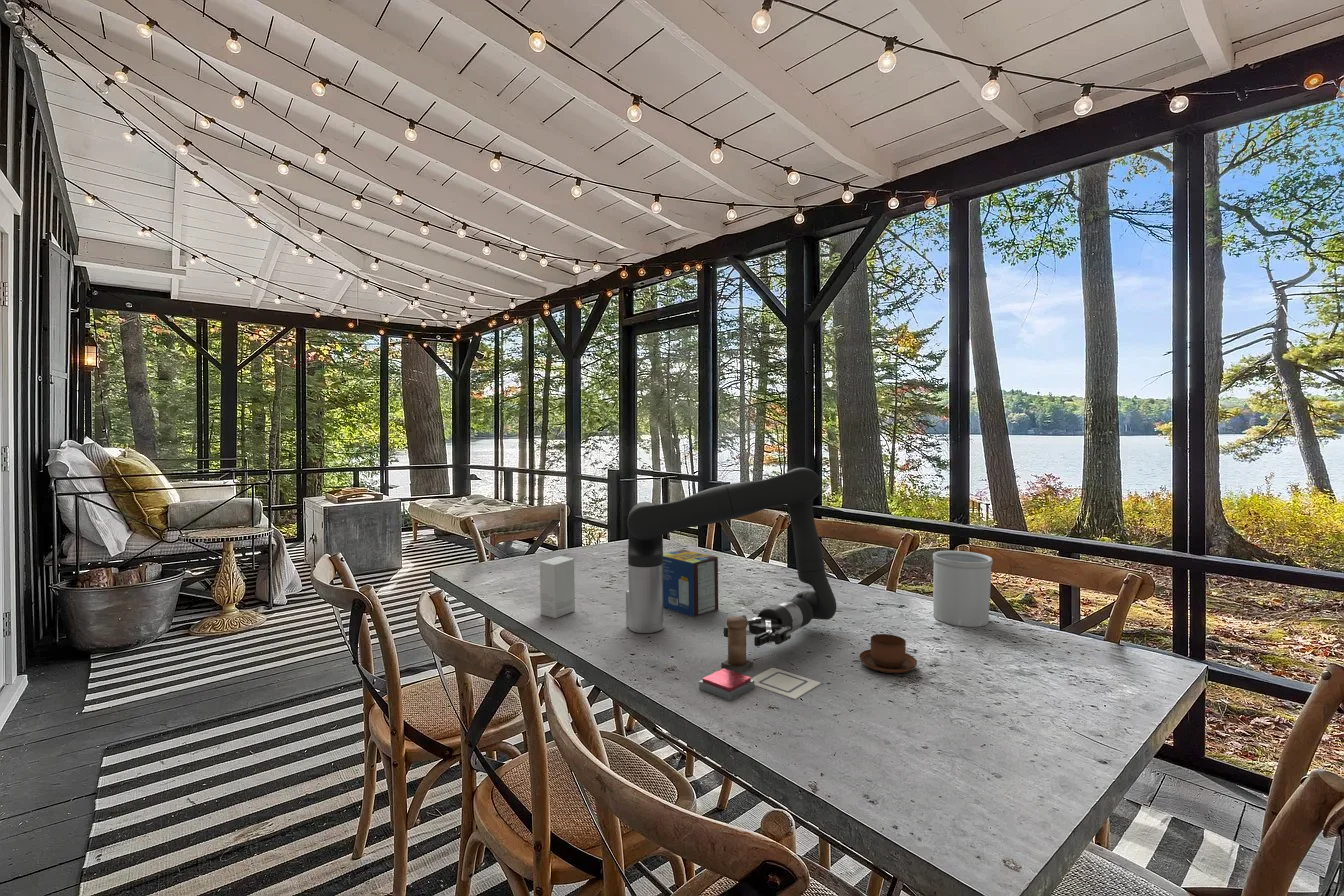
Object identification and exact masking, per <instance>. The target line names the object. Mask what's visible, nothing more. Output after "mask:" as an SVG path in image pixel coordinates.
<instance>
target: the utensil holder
mask: <svg viewBox="0 0 1344 896" xmlns="http://www.w3.org/2000/svg"><path fill="white" fill-rule="evenodd" d="M932 560H933V581H932V582H933V586H932V587H933V589H932V591H933V592H932V593H933V594H932V595H933V596H932V603H933V604H932V605H933V606H932V609H933V610H932V611H933V617H934V618H935V619H936V620H937V621H939V622H941V623H944V624H948V625H952V626H958V627H967V628H978V627H979V628H980V627H983V626H986V625H988V624H989V620H990V619H989V617H990V606H991V605H990V603H991V580H992V565H993V564H994V563H993V558H992V557H991V556H989V555H986V554H984V553H979V552H978V553H977V552H972V551H963V550H940V551H939V550H938V551H936V552H933V553H932Z"/></svg>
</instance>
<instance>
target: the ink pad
mask: <svg viewBox="0 0 1344 896" xmlns="http://www.w3.org/2000/svg"><path fill="white" fill-rule="evenodd" d="M751 678H752V677H750V676H748V675H745V674H744V673H741V674H740V673H737V672H734V671H731V670H728V669H725V668H721V669H720V670H717V671H715V672H713V673H711V674H709V675H706V676H705V677H703V678H702V679H701V680H699V681H698V689H699V690H701V691H703V692H706V693H709V694H711V695H714V696H717V697H719V698H721V697H722V699H724V700H727V701H729V702H731V701H732V700H735V699H736V698H738V697H740V696H742V695H743V694H746V693H748V692H749V691H752V690H753V689H755V685H754V680H752V679H751Z"/></svg>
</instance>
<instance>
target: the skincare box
mask: <svg viewBox="0 0 1344 896" xmlns="http://www.w3.org/2000/svg"><path fill="white" fill-rule="evenodd" d="M575 584H576V583H575V558H572V557H567V556H561V555H560V556H556V557H552V558H549V559H545V560H544V559H543V560H542V561H539V587H540V588H539V591H540V592H539V593H540V594H539V597H540V603H539V604H540V615H541V616H545V617H548V618H549V617H550V618H553V619H557V618H560V617H562V616H566V615H567V614H570V613H574V612H575V611H576V596H575V595H576V592H575V591H576V589H575V588H576V587H575Z"/></svg>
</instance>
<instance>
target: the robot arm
mask: <svg viewBox="0 0 1344 896" xmlns="http://www.w3.org/2000/svg"><path fill="white" fill-rule="evenodd" d="M821 489H822V479H821V477H820V476H819V475H818V473H816V472H815V471H814V470H813V469H810V468H807V467H796V468H792V469H790V470H789V471H788V472H786V473H782V474H779V475H776V476H773V477H769V478H767V479H766V478H765V479H759V480H747V481H739V482H734V483H733V482H732V483H728V484H723V485H719V486H714V487H710V488H707V489H704V490H701V491H698V492H696V493H694V494H691V495H689V496H687V497H685V498H681V499H680V500H675V501H671V502H666V503H665V502H664V503H658V504H655V503H652V502H649V501H642V502H638V503H637V504H635V505H633V507H632V508H631V509H630V511H629V513H628V516H627V521H626V525H627V533H628V534H627V535H628V536H627V538H628V540H627V541H628V542H627V544H628V545H627V547H628V548H627V549H628V550H627V551H628V552H627V563H628V565H627V572H628V573H627V574H628V576H627V577H628V578H627V579H628V581H627V582H628V584H627V585H628V590H626V592H625V615H626V617H625V618H626V620H625V624H626V625H625V627H626V628H628V630H630V631H631V632H634V633H638V634H639V633H640V634H651V633H652V634H653V633H657V632H660V631H661V630H663V629H664V607H663V553H664V538H663V536H664V535H667V534H670V533H672V532H675V531H679V530H682V529H687V528H693V527H699V526H700V527H701V526H706V525H711V524H717V523H722V522H725V521H731V520H735V519H739V518H741V517H745V516H748V515H752V514H755V513H758V512H760V511H763V510H765V509H769V508H774V507H777V506H779V507H780V506H785V505H786V506H787V509H788V514H789V518H790V523H791V529H792V535H793V536H792V537H793V545H794V554H795V561H796V563H795V564H796V571H797V577H798V580H799V581H800V582H801V583H804V584H806V585H810V586H811V588H812V589H813V590H814V591H810V590H804V591H800V592H797V594H795V595H794V596H793V597H792V598H791V599H790V600H787V601H783V602H778V603H776V604H774V605H771V606H769V607H766V608H764V609H762V610H761V611H760V612H759V613H758V614H757V616H755V617H753V618H747V615H746V614H742V615H739V616H740V617H744V618H747V626H748V630H746V636H748V635H749V636H753V635H755V636H754V638H753V639H754V641H753V643H754V646H755V647H760V646H763V645H765V644H772V643H774V644H775V645H777V646H778V645H781V644H783V643H785V642H786V641H787V642H788V641H789V640H790V639H791V635H792V633H794V632H796V631H797V630H799V629H801V628H803V627H805V626H807V625H808V624H810V623H811V621H812V620H821V621H822V620H823V621H827V620H828V621H829V620H831V619H833V617H834V616H835V614H836V612H837V601H836V597H835V594H834V592H833V590H832V588H831V585H830V583H829V580H828V577H827V574H826V567H825V561H824V560H825V559H824V555H823V553H824V552H823V549H822V545H821V541H820V536H819V534H818V530H817V526H816V523H815V517H814V503H813V501H814V499H816V498H817V497H818V495H820V492H821V491H822V490H821ZM723 637H724V638H728V626H727V625H726V626H724V627H723Z"/></svg>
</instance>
